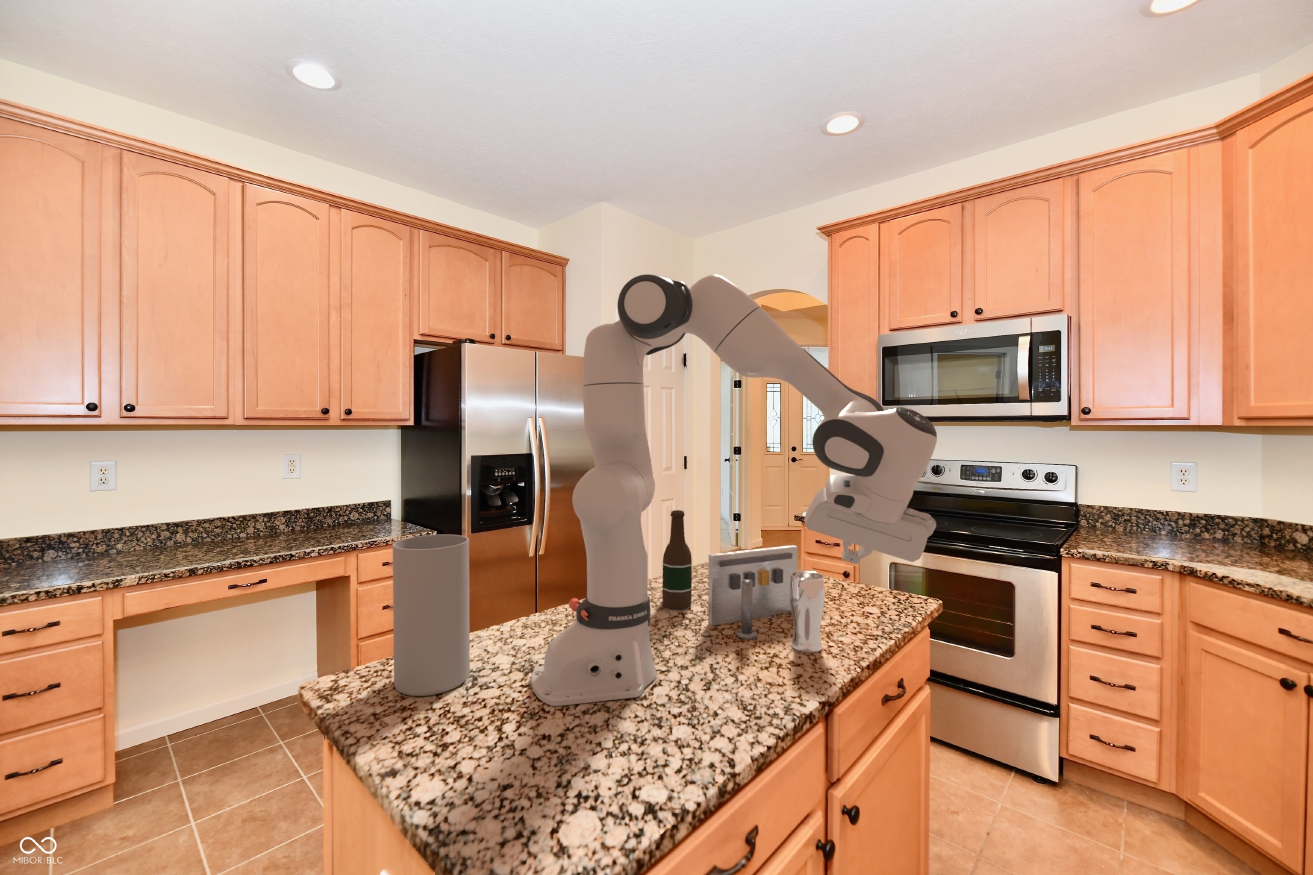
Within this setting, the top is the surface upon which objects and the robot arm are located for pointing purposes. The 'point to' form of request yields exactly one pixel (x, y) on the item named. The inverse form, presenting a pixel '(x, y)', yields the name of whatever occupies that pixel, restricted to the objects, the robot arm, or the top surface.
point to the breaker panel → (763, 569)
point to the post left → (746, 611)
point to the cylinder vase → (431, 613)
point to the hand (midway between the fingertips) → (849, 560)
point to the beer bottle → (677, 567)
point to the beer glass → (807, 610)
